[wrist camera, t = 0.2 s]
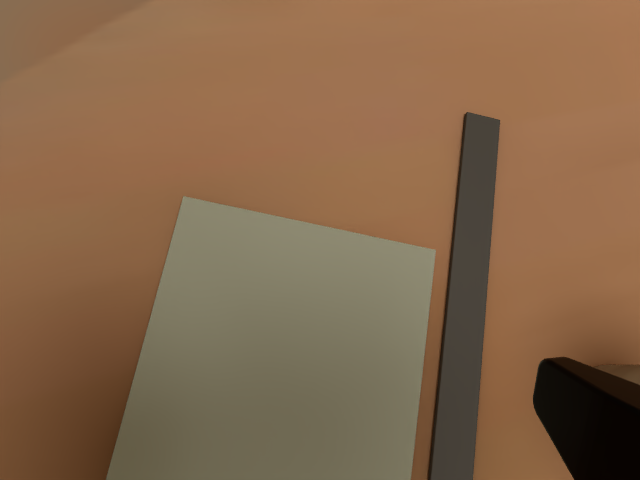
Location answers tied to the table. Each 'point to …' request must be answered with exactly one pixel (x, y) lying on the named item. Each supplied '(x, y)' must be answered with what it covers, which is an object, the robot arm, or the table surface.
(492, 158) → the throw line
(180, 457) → the mat
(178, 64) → the table surface
